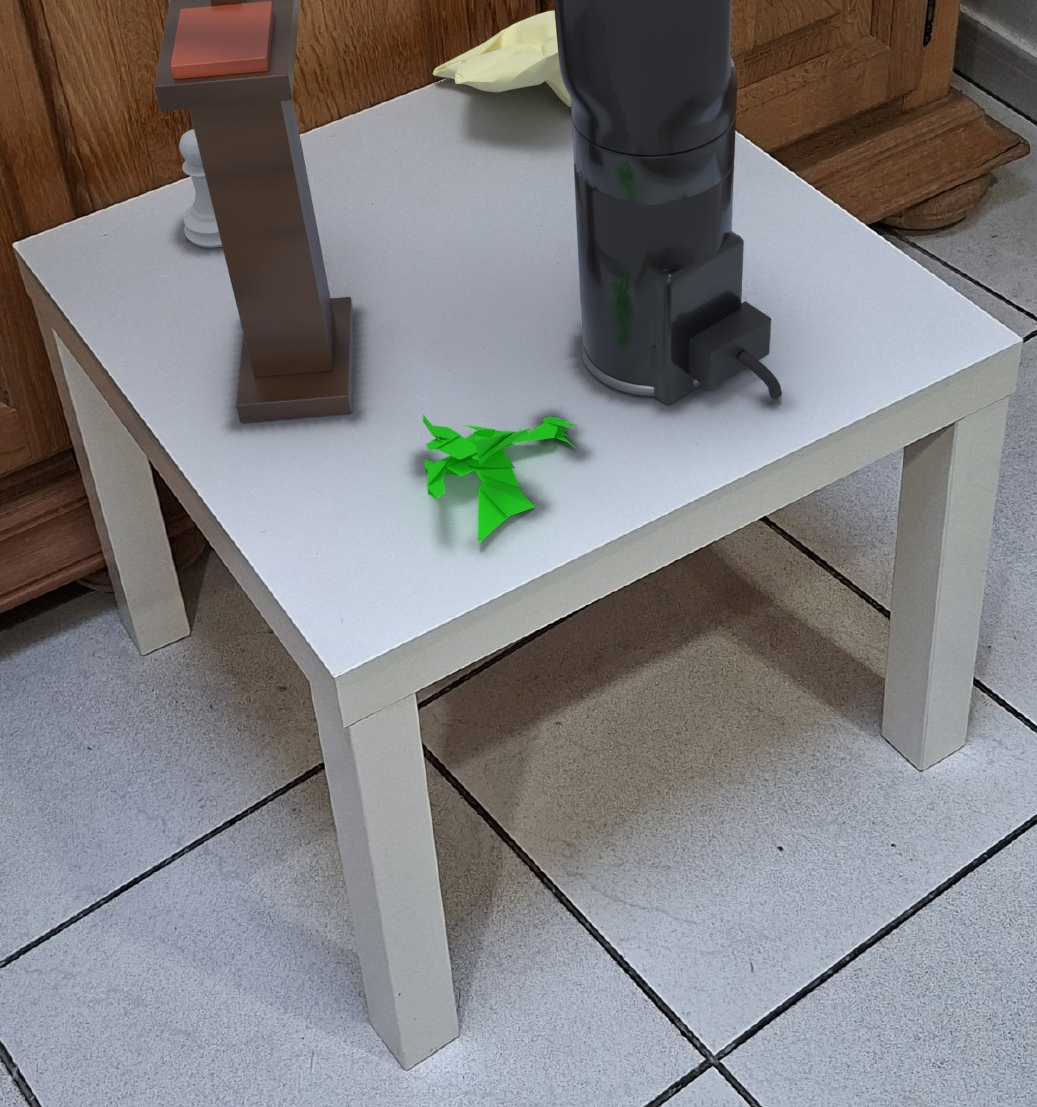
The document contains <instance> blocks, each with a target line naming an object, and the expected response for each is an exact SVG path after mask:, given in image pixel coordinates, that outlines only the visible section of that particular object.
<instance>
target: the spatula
mask: <svg viewBox="0 0 1037 1107" xmlns="http://www.w3.org/2000/svg"><path fill="white" fill-rule="evenodd" d="M211 5H212V6H209V7H197V8H186V9H181V10H180V15H179V21H178V27H177V33H176V38H175V44H174V50H173V56H172V61H171V70H172V74H173V78H174V79H184V78H195V77H206V76H217V75H229V74H240V73H251V72H262V71H269V64H270V53H271V43H272V32H273V22H274V9H273V4H272V1H264V2H253V3H245V0H211Z"/></svg>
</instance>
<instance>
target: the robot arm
mask: <svg viewBox="0 0 1037 1107" xmlns="http://www.w3.org/2000/svg"><path fill="white" fill-rule="evenodd" d="M732 1H733V0H553V11H555V23H556V34H557V45H558V57H559V65H560V72H561V76H562V80H563V83H564V85H565V88H566V90H567V92H568V93H569V95H570V99H571V107H570V112H571V131H572V132H571V134H572V135H571V136H572V152H573V153H572V154H573V155H572V156H573V176H574V177H573V180H574V197H575V198H574V199H575V216H576V218H575V220H576V235H577V236H576V241H577V242H576V243H577V257H578V258H577V259H578V261H577V262H578V279H579V280H578V281H579V283H578V284H579V299H580V301H579V302H580V313H581V314H580V315H581V331H582V332H581V336H580V350H581V356H582V360H583V362H584V365H585V367H586V368H587V369H588V371H589V372H590V373H591V374H592V375H593V376H594V377H595V378H596V379H597V380H598V381H600V382H601V383H603V384H605V385H607V386H608V387H610V388H613V389H615V390H617V391H620V392H623V393H628V394H632V395H638V396H647V397H649V396H651V397H654V398H656V399H658V400H659V401H661V402H663V403H664V404H672V403H673V402H674V401H675V402H676V401H677V400H678V399H680V398H681V397H683V396H685V395H687V394H689V393H690V392H692V391H693V390H695V389H696V388H699V387H700V386H704V387H706V388H707V389H708V390H711V391H712V390H713V389H715V388H716V387H718V386H719V385H721V384H722V383H725V382H726V381H727V380H729V379H731V378H732V377H734V376H736V375H738V374H739V373H741V372H742V371H744V370H746V369H748V370H749V371H751V373H753V374H755V375H756V376H757V377H758V378H759V379H760V380H761V381H762V382H763V383H764V384H765V386H766V387H767V389H768V394H769V397H770V398H771V399H772V400H777V399H778V400H779V398H781V397H782V394H783V392H782V386H781V384H780V382H779V380H778V379H777V377H776V376H775V374H774V373H773V372H772V371H771V370H770V369H769V368H768V367H767V366H765V365H764V364H763V363H762V362H761V361H760V360H762V359H764V358H766V357H767V356H769V355H770V349H771V346H770V345H771V333H772V332H771V331H772V330H771V329H772V317H770V316H769V315H767V313H765V312H763V311H761V310H760V309H758V308H757V307H755V306H753V305H752V304H751V303H749V302H747V301H746V300H745V301H743V302H742V300H743V298H742V297H743V296H742V295H743V274H744V273H743V272H744V248H745V242H744V238H742V236H740V234H737V233H736V232H734V231H733V210H734V184H735V183H734V182H735V180H734V177H735V156H736V155H735V154H736V126H737V108H738V107H737V106H738V105H737V104H738V70H737V67H736V63H735V61H734V59H733V57H732V56H731V49H732V48H731V47H732V46H731V44H732V43H731V42H732V4H733V3H732Z"/></svg>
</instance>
